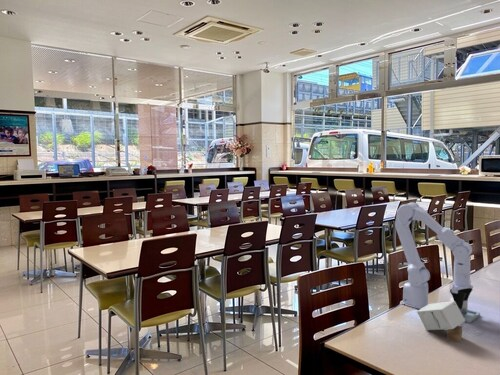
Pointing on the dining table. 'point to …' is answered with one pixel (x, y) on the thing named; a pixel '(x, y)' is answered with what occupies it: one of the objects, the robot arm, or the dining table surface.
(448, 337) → the walnut block
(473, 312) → the tray
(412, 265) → the robot arm
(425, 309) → the supplement box
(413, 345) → the dining table surface
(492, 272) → the dining table surface
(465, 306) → the silver cylindrical canister
